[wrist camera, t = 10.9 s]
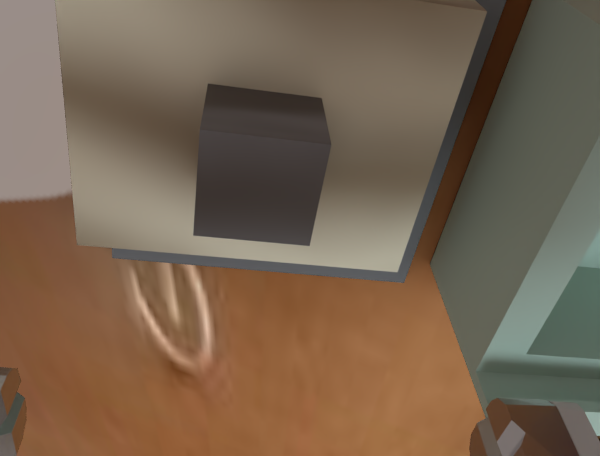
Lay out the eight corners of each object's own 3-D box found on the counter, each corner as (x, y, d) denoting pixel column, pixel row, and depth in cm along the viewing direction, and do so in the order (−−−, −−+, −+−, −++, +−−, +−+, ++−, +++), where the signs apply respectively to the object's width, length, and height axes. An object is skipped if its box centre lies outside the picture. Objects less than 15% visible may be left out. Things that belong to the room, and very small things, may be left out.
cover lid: (62, -66, 16) (9, -29, 12) (474, -1, 17) (526, 47, 14) (85, 225, 22) (53, 303, 18) (391, 252, 23) (414, 329, 20)
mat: (100, -124, 15) (96, -121, 15) (518, -50, 17) (523, -47, 17) (114, 251, 23) (112, 258, 23) (402, 276, 25) (403, 282, 24)
